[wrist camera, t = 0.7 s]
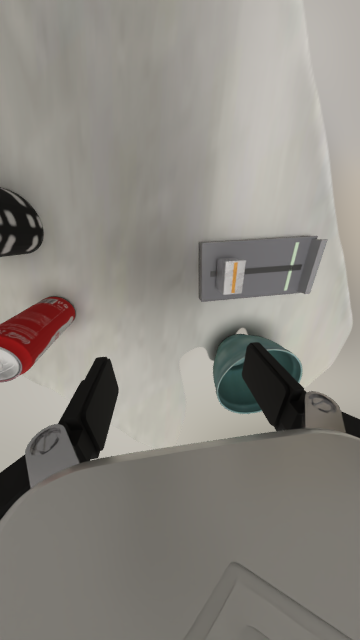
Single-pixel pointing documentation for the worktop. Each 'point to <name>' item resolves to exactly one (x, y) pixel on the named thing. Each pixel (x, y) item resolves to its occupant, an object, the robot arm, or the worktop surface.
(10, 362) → the beverage can
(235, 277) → the fader knob
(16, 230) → the white-spotted black cylinder
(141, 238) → the worktop surface
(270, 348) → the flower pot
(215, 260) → the fader console
